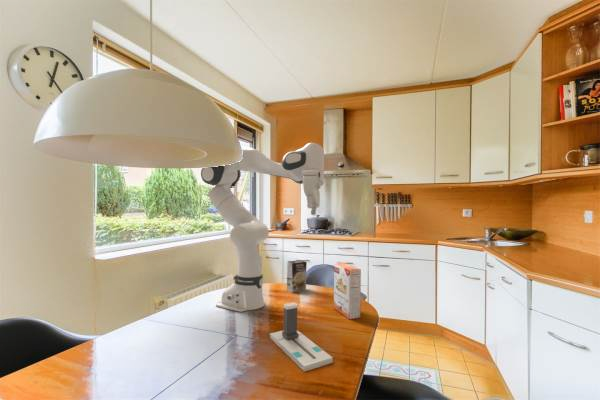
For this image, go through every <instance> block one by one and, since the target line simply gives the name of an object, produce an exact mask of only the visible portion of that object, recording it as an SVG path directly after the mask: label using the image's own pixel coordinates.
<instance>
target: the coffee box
mask: <svg viewBox="0 0 600 400" xmlns="http://www.w3.org/2000/svg"><path fill="white" fill-rule="evenodd" d="M286 266H287V267H286V268H287V269H286V271H287V272H286V273H287V274H286V291H288V292H290V293H299V292H305V291H306V290H307V261H305V260H300V259H298V260H288V261H287V265H286Z"/></svg>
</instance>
